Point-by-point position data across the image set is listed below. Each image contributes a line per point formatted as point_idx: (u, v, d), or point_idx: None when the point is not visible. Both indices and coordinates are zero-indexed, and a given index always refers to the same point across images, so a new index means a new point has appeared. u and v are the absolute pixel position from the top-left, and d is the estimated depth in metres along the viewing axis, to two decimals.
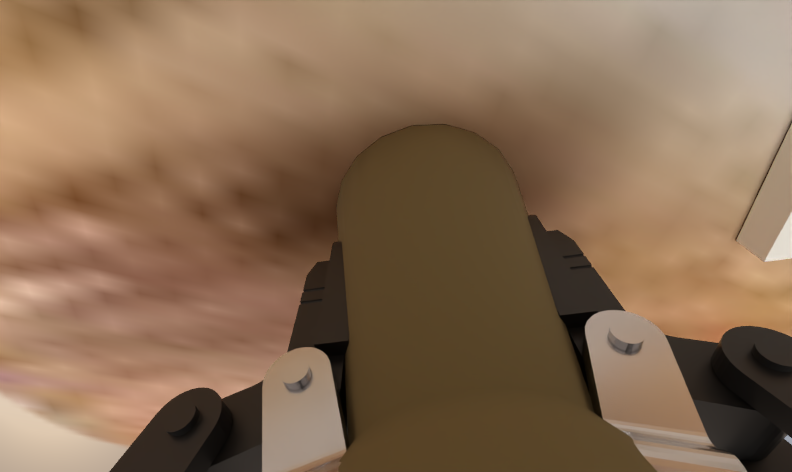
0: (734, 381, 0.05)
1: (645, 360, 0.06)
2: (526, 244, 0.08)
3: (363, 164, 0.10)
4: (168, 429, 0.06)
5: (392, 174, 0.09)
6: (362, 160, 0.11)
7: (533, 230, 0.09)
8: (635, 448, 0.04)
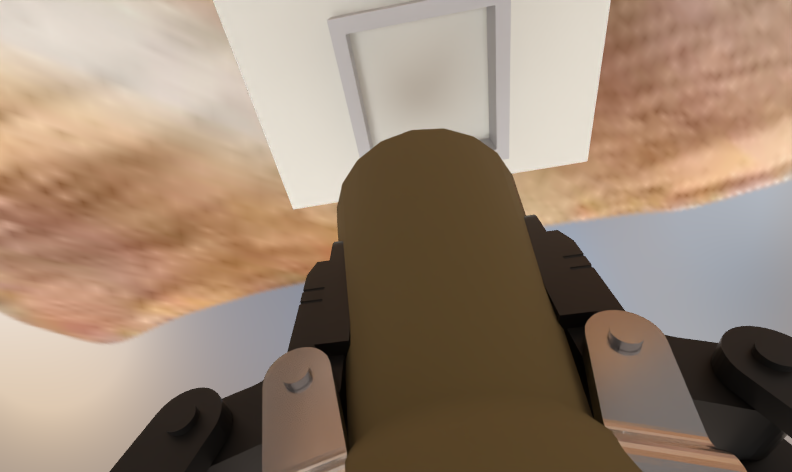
0: (734, 381, 0.05)
1: (645, 360, 0.06)
2: (525, 248, 0.08)
3: (363, 168, 0.11)
4: (168, 429, 0.06)
5: (392, 179, 0.09)
6: (363, 164, 0.11)
7: (533, 230, 0.09)
8: None
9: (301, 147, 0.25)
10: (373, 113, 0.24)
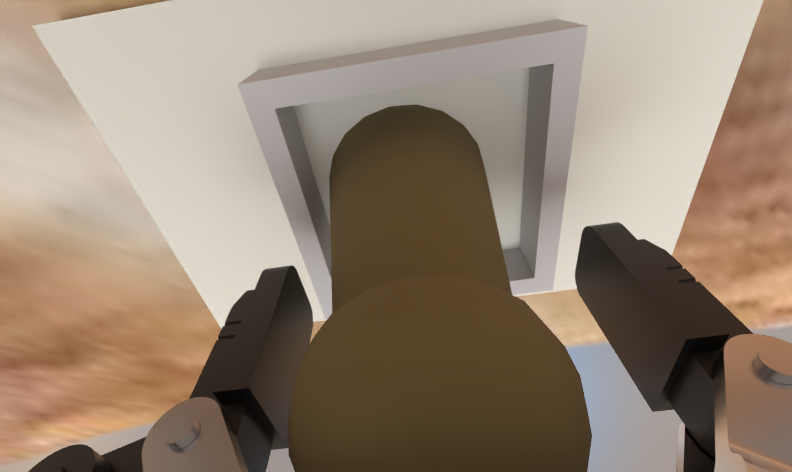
0: None
1: None
2: (474, 192, 0.10)
3: (349, 139, 0.13)
4: None
5: (371, 144, 0.11)
6: (349, 136, 0.13)
7: (623, 240, 0.08)
8: (520, 302, 0.06)
9: (227, 258, 0.16)
10: None
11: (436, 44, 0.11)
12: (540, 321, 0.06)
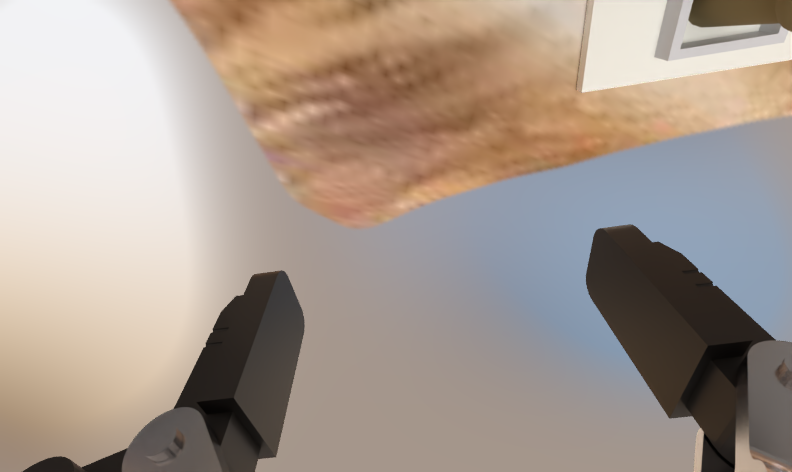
0: None
1: None
2: None
3: None
4: None
5: None
6: None
7: (638, 242, 0.08)
8: None
9: (613, 34, 0.32)
10: None
11: None
12: None
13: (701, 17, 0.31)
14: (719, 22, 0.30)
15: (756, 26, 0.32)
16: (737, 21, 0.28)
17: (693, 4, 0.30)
